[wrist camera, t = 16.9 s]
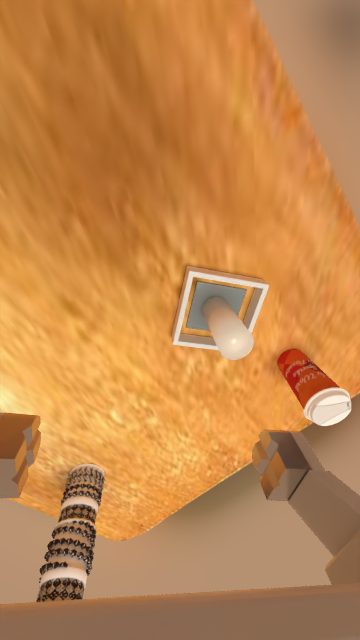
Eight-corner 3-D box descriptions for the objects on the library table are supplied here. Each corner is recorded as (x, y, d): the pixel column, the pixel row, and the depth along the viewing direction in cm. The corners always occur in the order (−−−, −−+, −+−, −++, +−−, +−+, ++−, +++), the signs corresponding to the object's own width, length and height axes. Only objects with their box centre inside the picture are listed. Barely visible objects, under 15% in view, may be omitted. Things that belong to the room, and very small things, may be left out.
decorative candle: (63, 482, 65) (18, 635, 43) (73, 459, 61) (30, 613, 39) (99, 487, 67) (74, 635, 45) (111, 466, 64) (90, 614, 42)
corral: (171, 335, 48) (172, 344, 46) (187, 265, 43) (189, 270, 40) (239, 344, 51) (243, 353, 48) (262, 279, 45) (269, 284, 42)
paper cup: (305, 339, 52) (353, 386, 40) (310, 366, 56) (356, 418, 43) (268, 353, 53) (304, 404, 40) (276, 379, 56) (311, 434, 44)
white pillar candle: (200, 321, 47) (216, 360, 37) (203, 296, 45) (221, 329, 34) (226, 321, 48) (250, 359, 37) (230, 296, 46) (257, 329, 35)
